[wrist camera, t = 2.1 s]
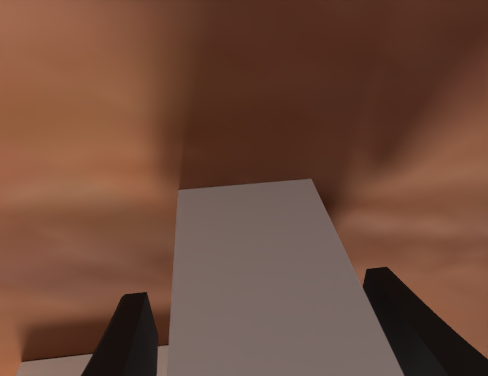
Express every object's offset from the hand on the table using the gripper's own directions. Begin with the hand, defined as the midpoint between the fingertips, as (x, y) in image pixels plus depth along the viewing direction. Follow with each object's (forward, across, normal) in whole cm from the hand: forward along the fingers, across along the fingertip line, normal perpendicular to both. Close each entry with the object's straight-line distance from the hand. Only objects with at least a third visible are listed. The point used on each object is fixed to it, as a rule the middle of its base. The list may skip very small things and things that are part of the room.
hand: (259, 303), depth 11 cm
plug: (+3, 0, 0) cm, 3 cm away
